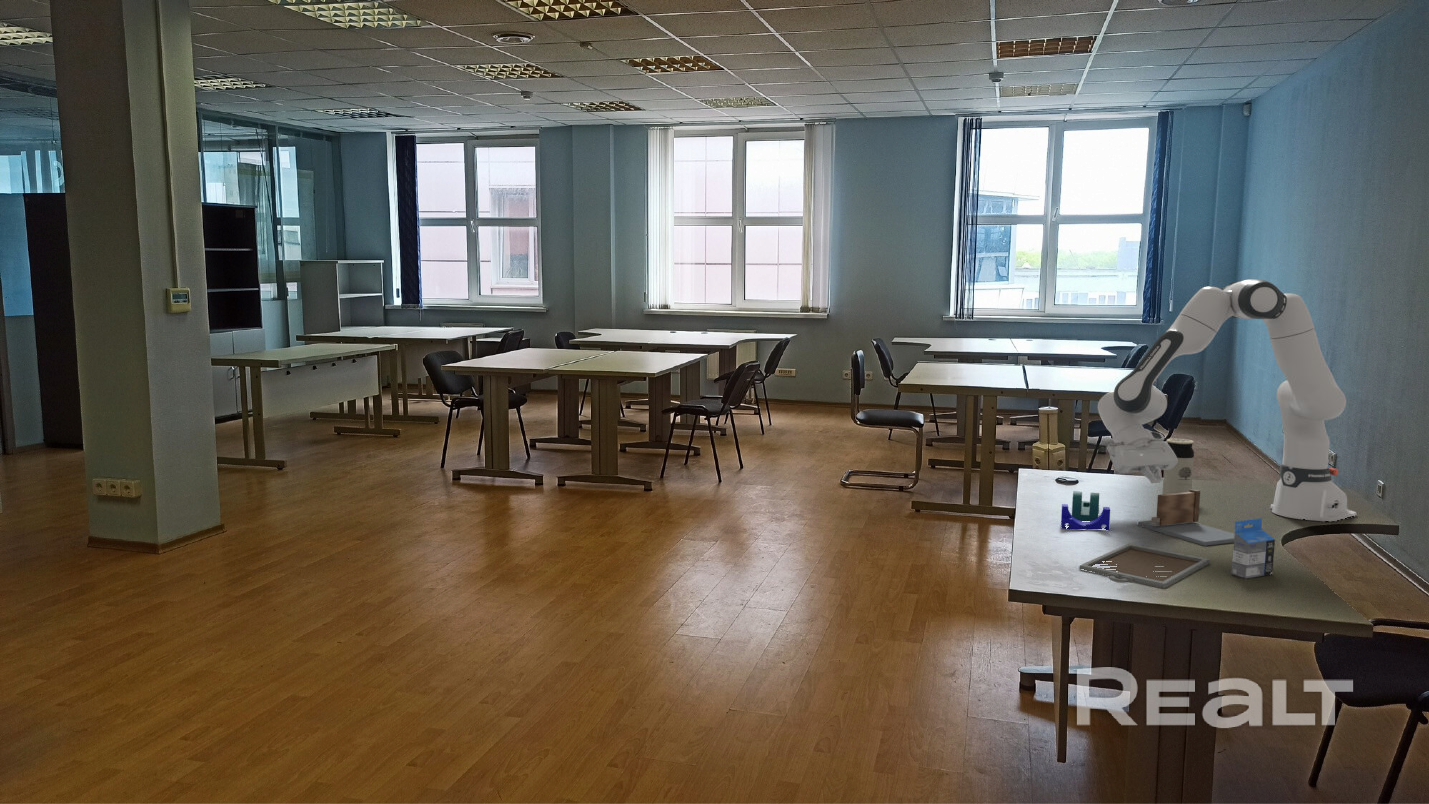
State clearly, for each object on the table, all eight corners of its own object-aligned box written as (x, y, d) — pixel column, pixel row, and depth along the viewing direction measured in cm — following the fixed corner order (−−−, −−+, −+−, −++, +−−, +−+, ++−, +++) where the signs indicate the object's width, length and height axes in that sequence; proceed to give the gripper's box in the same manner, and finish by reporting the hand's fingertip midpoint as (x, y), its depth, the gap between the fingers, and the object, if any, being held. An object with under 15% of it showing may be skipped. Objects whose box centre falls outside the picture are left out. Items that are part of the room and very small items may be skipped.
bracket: (1097, 524, 267) (1099, 495, 266) (1071, 521, 270) (1072, 493, 269) (1099, 510, 284) (1100, 483, 283) (1074, 507, 286) (1075, 481, 285)
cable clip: (1061, 529, 261) (1062, 507, 260) (1060, 525, 265) (1062, 503, 265) (1109, 533, 258) (1110, 510, 257) (1108, 529, 262) (1109, 507, 261)
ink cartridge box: (1245, 579, 217) (1249, 525, 216) (1230, 574, 221) (1234, 521, 219) (1273, 574, 221) (1277, 521, 219) (1257, 570, 224) (1261, 517, 223)
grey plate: (1176, 521, 270) (1177, 517, 270) (1245, 540, 250) (1245, 536, 249) (1137, 525, 265) (1138, 521, 265) (1204, 545, 245) (1204, 542, 244)
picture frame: (1210, 558, 229) (1160, 586, 209) (1209, 565, 230) (1159, 593, 209) (1128, 543, 243) (1073, 567, 222) (1128, 549, 243) (1073, 574, 222)
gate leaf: (1191, 519, 265) (1193, 489, 264) (1198, 521, 263) (1200, 490, 262) (1149, 524, 260) (1151, 493, 259) (1155, 526, 258) (1157, 495, 257)
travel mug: (1158, 495, 303) (1162, 438, 301) (1185, 495, 302) (1189, 438, 300) (1167, 500, 295) (1170, 442, 293) (1194, 501, 294) (1198, 442, 292)
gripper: (1110, 437, 274) (1135, 477, 266) (1166, 433, 281) (1191, 473, 273) (1098, 450, 278) (1121, 490, 271) (1153, 446, 286) (1178, 485, 278)
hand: (1157, 481), depth 272 cm, fingers closed
